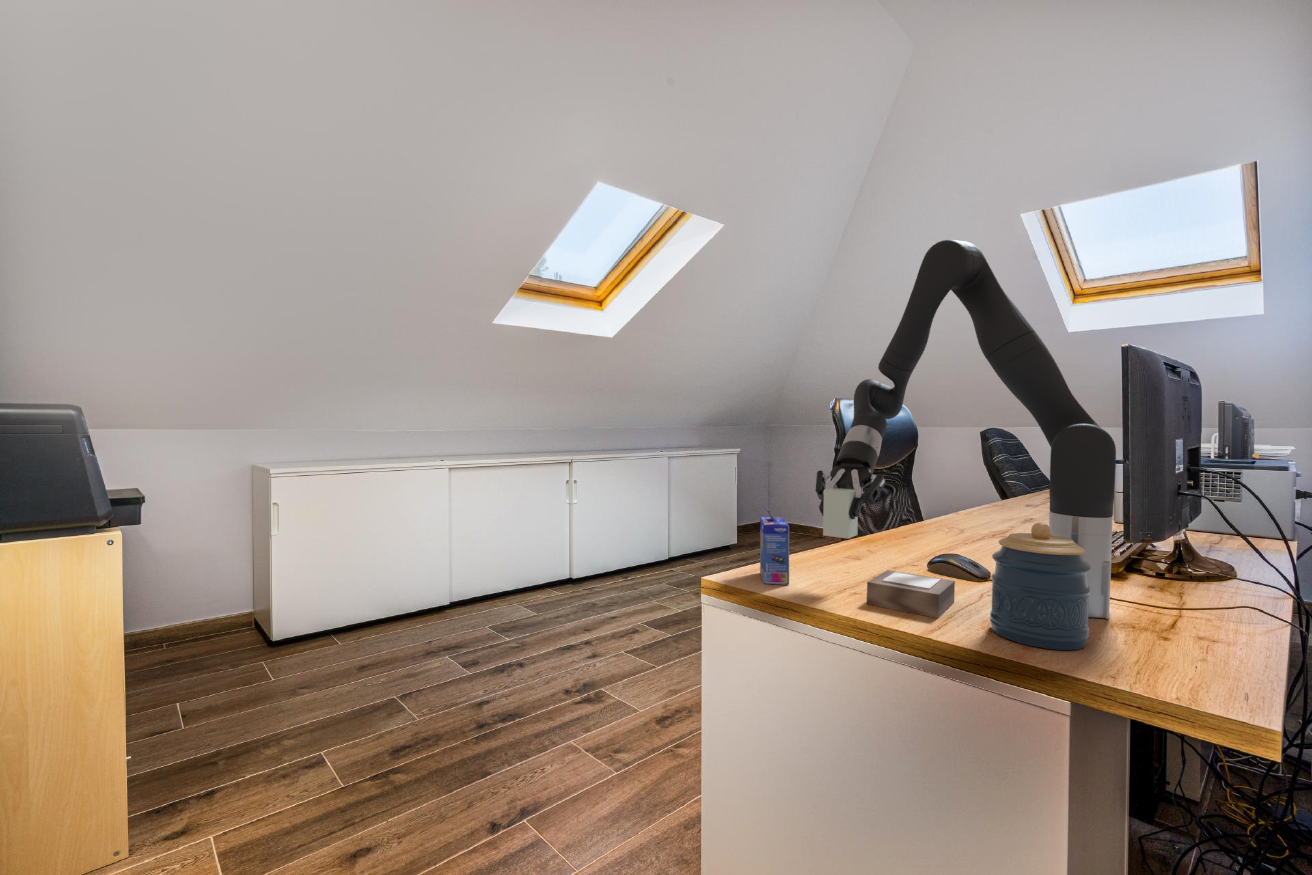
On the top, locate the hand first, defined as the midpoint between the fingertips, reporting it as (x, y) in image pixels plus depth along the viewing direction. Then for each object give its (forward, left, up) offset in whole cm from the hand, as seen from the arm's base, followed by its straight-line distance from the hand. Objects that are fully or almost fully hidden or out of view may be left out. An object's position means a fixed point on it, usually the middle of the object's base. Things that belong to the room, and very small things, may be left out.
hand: (837, 514), depth 117 cm
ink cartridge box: (+13, 0, -15) cm, 20 cm away
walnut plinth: (-14, -1, -15) cm, 20 cm away
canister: (-34, +4, -15) cm, 37 cm away
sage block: (0, -2, -4) cm, 5 cm away
